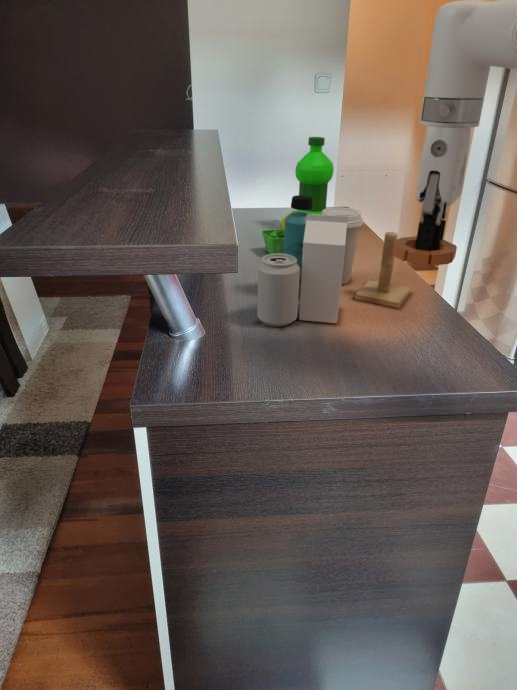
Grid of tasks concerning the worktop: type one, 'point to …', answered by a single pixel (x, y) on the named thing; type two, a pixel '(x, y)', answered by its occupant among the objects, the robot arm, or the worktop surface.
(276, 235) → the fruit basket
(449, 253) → the ring
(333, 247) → the milk carton
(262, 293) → the can
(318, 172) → the plastic bottle
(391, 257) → the post
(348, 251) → the coffee cup
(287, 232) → the beverage bottle
